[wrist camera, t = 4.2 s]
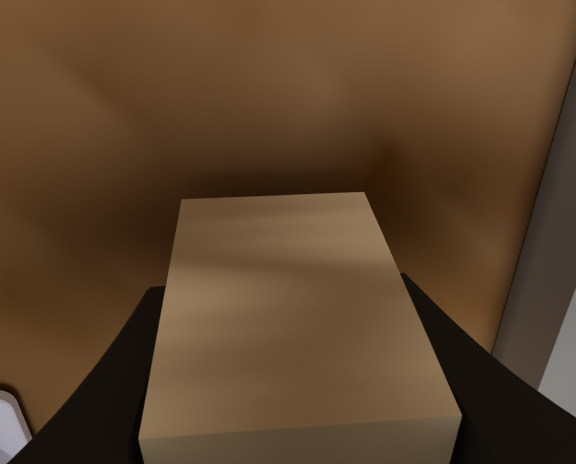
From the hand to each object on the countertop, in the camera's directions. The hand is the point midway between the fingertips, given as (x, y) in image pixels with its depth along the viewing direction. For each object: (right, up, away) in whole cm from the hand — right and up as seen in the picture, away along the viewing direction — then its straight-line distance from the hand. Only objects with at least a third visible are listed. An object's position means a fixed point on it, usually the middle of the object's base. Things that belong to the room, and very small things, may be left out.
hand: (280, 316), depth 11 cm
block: (0, +1, +1) cm, 2 cm away
